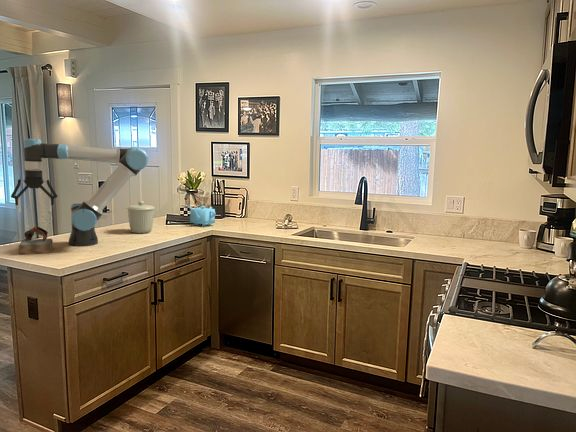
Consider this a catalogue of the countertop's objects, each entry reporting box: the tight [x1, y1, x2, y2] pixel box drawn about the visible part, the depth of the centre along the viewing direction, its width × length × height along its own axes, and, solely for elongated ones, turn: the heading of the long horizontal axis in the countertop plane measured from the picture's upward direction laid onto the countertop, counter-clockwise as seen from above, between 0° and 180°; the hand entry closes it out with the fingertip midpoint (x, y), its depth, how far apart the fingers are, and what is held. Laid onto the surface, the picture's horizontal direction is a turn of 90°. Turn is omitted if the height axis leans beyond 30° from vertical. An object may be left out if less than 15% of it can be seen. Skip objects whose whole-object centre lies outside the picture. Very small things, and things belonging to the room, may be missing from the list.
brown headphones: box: [23, 225, 49, 241], centre depth 218 cm, size 12×10×8 cm
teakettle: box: [188, 205, 217, 227], centre depth 318 cm, size 19×19×15 cm
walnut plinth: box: [18, 238, 54, 256], centre depth 218 cm, size 14×14×5 cm
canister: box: [126, 200, 156, 234], centre depth 280 cm, size 18×18×21 cm
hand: (35, 211), depth 215 cm, fingers open, 13 cm apart
